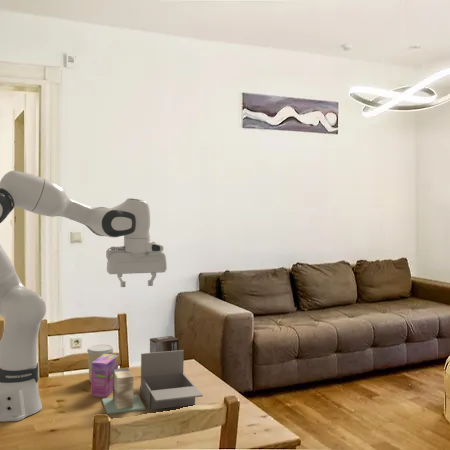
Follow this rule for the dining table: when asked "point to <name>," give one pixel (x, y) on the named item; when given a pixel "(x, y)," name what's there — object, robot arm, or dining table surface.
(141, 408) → the mat
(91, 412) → the dining table surface
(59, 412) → the dining table surface
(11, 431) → the dining table surface
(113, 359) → the box
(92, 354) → the coffee cup
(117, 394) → the capped box
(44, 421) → the dining table surface
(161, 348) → the coffee box
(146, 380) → the carton
